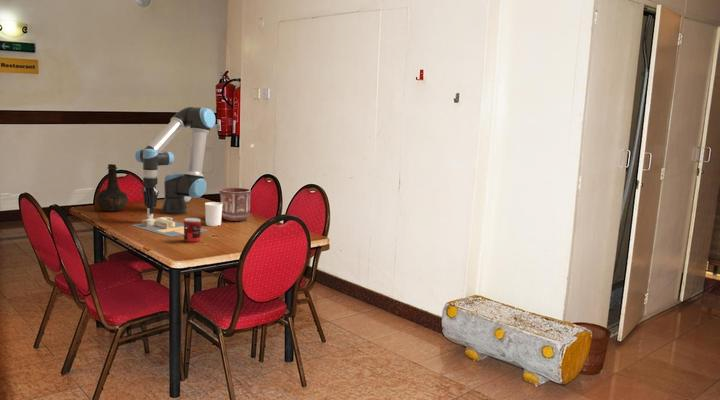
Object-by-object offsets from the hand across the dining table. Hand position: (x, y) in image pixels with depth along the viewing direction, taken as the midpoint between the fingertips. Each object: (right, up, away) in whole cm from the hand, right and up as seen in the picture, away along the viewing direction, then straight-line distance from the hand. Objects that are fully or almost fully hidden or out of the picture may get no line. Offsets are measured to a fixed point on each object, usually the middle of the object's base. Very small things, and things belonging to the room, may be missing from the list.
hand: (150, 219), depth 340 cm
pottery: (+43, -1, +20) cm, 47 cm away
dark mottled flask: (-33, +4, +30) cm, 45 cm away
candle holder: (+34, -3, +4) cm, 35 cm away
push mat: (+14, -4, -10) cm, 18 cm away
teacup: (-2, +9, +71) cm, 71 cm away
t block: (+9, -3, -6) cm, 12 cm away
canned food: (+33, -10, -36) cm, 50 cm away
